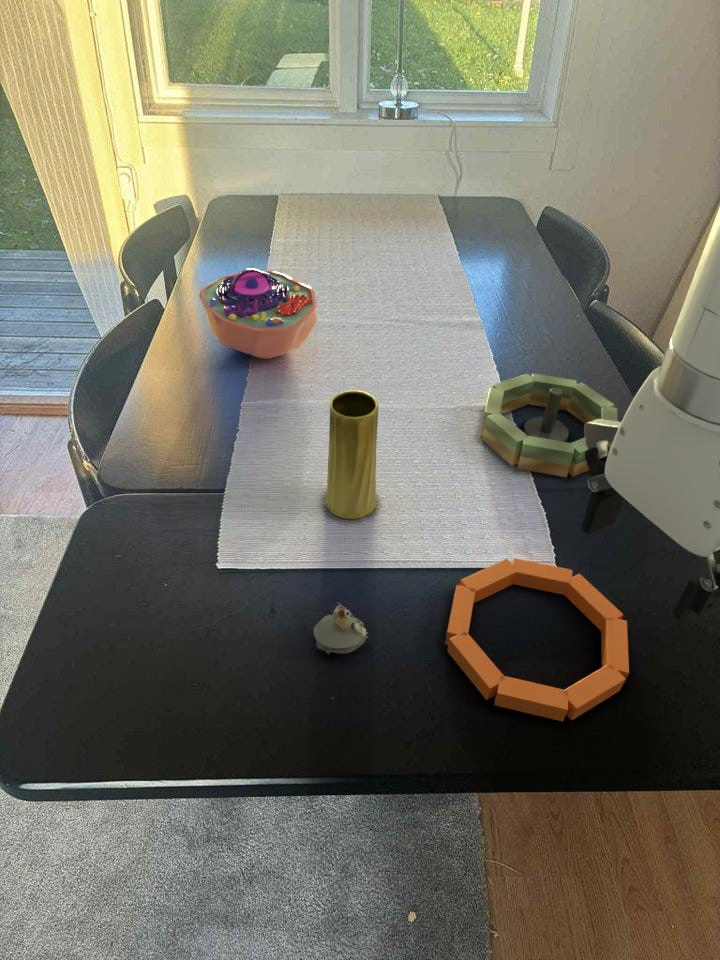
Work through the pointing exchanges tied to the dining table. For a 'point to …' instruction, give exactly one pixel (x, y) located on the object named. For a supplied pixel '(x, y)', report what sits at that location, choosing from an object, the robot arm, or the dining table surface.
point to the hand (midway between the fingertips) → (640, 566)
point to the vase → (352, 455)
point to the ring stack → (542, 423)
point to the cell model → (260, 312)
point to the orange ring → (528, 693)
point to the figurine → (339, 632)
